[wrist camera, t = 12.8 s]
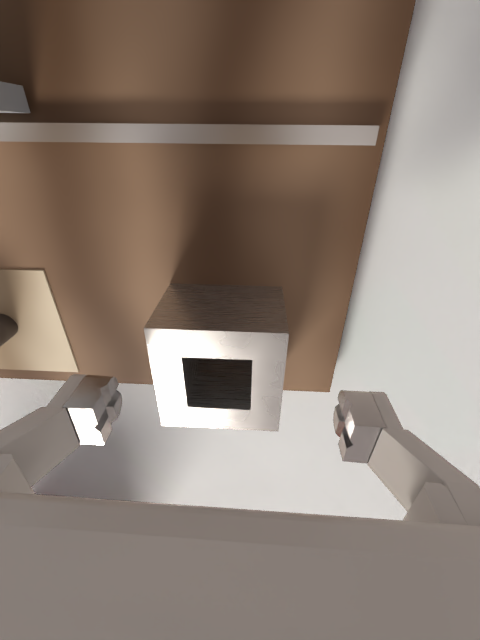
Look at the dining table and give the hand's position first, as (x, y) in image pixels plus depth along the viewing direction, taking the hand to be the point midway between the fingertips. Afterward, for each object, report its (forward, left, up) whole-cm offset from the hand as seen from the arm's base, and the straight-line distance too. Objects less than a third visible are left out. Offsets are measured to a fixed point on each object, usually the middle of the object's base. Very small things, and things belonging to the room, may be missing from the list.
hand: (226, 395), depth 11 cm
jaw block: (0, +1, -5) cm, 5 cm away
